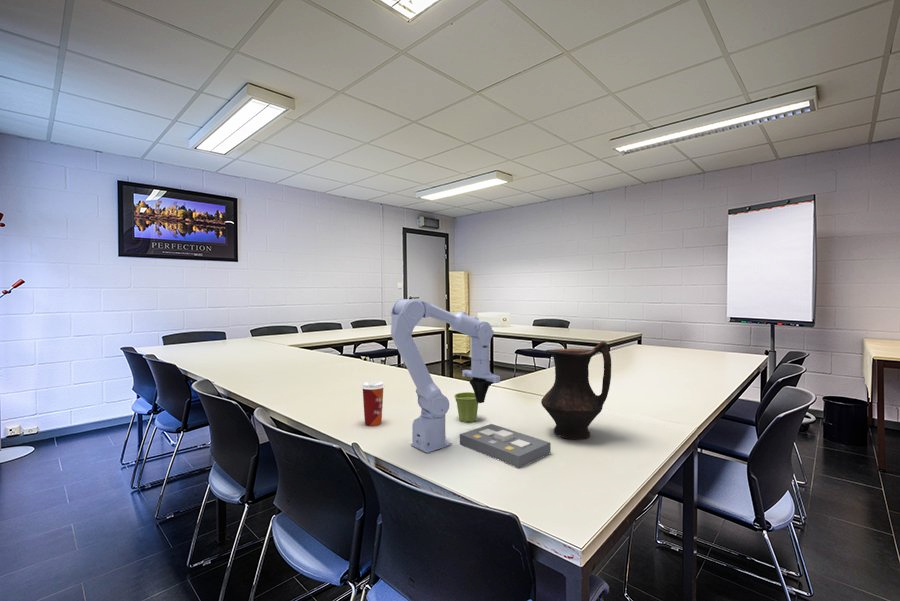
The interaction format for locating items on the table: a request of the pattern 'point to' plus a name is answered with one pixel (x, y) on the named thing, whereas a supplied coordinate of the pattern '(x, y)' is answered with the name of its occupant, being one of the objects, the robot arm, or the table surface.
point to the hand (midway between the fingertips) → (480, 402)
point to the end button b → (520, 444)
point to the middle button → (503, 436)
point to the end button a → (487, 432)
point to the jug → (576, 391)
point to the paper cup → (373, 402)
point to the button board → (505, 446)
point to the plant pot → (466, 406)
